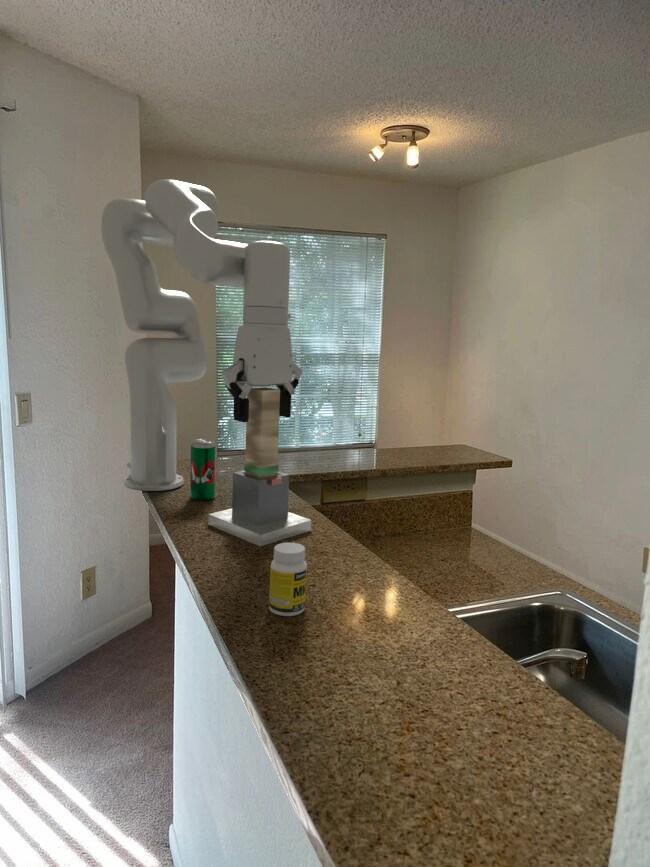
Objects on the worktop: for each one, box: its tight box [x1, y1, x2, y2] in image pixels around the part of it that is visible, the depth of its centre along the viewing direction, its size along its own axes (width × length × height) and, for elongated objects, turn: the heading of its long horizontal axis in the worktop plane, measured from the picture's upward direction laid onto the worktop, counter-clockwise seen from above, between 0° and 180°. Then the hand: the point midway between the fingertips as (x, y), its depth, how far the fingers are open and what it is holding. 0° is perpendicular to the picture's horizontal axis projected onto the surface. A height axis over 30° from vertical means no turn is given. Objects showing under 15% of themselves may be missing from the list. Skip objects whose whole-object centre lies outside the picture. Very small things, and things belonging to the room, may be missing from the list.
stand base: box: [208, 470, 312, 547], centre depth 111 cm, size 14×12×10 cm
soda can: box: [189, 438, 217, 502], centre depth 127 cm, size 5×5×12 cm
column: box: [243, 386, 280, 479], centre depth 109 cm, size 4×4×16 cm
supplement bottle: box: [268, 542, 308, 617], centre depth 81 cm, size 5×5×8 cm
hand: (262, 418), depth 108 cm, fingers open, 9 cm apart
